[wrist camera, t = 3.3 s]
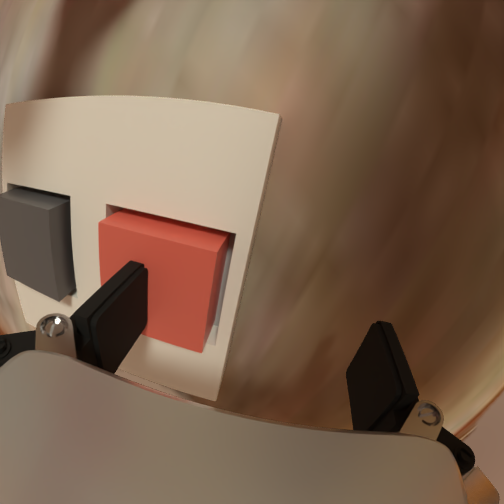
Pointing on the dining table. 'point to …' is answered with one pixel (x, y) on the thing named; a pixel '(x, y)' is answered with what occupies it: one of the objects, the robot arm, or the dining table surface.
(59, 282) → the button black
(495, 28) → the dining table surface
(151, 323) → the button red
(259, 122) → the switch panel
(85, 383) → the robot arm
